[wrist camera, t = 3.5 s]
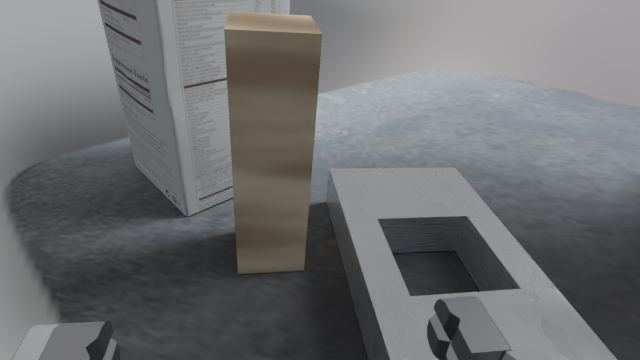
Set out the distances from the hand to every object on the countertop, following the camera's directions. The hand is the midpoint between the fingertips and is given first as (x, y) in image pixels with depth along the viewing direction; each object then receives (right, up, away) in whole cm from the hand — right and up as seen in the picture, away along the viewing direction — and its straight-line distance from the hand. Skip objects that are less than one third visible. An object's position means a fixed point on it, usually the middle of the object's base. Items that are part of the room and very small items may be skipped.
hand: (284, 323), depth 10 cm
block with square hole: (+8, -3, +13) cm, 16 cm away
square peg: (-2, -1, +15) cm, 15 cm away
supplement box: (-8, +4, +23) cm, 25 cm away
